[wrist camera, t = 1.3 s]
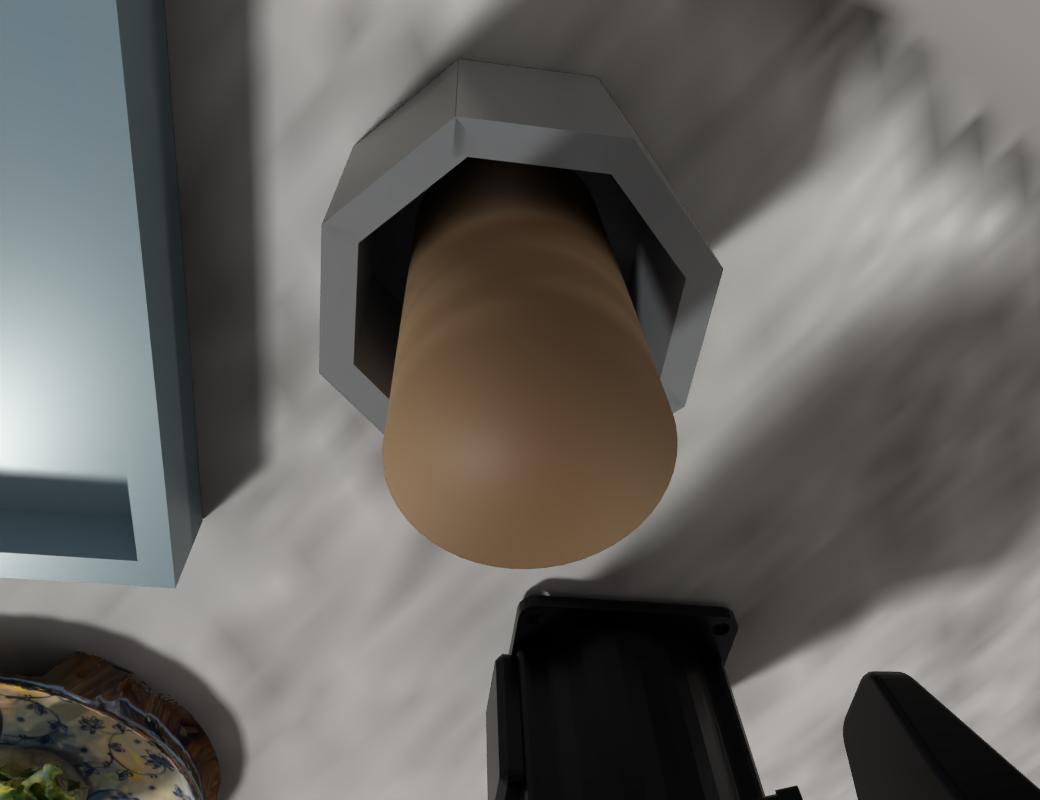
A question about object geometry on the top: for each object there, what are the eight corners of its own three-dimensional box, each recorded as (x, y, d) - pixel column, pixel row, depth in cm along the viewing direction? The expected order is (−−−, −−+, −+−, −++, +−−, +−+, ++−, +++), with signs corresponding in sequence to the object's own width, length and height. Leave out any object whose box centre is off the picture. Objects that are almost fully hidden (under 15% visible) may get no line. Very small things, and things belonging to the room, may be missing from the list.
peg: (617, 158, 18) (709, 344, 11) (583, 331, 20) (643, 577, 13) (421, 134, 17) (391, 313, 10) (407, 313, 19) (375, 559, 12)
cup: (693, 90, 18) (755, 153, 14) (626, 375, 21) (661, 489, 17) (356, 45, 17) (323, 99, 13) (346, 349, 20) (318, 461, 17)
